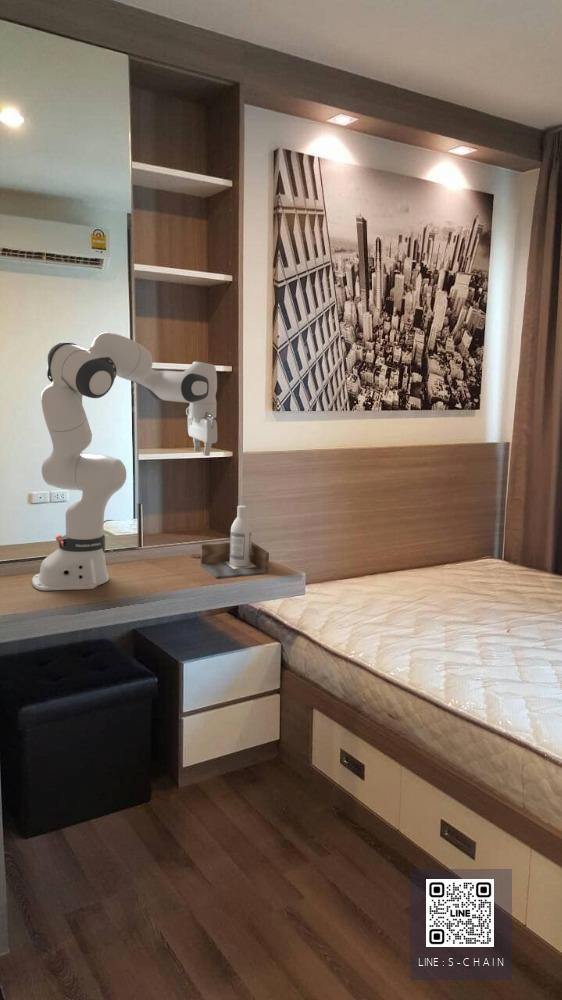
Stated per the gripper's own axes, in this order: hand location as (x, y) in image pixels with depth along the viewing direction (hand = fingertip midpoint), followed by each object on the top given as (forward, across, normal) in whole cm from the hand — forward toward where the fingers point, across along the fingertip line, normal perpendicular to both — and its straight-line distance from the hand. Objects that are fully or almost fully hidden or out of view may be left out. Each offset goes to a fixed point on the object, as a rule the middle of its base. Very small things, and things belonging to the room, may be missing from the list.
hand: (202, 453), depth 239 cm
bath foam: (+37, -10, -11) cm, 39 cm away
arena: (+37, -12, -8) cm, 40 cm away
